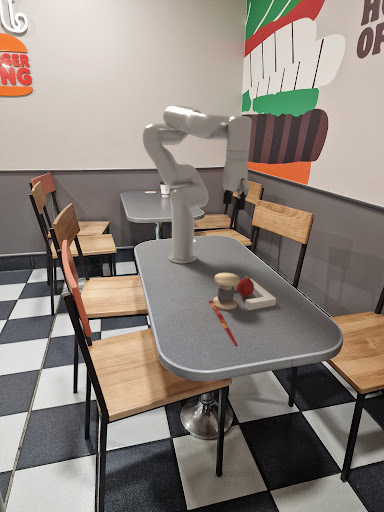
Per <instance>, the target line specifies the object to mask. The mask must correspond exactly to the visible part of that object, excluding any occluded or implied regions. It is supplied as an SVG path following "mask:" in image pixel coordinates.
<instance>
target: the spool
mask: <svg viewBox="0 0 384 512" xmlns="http://www.w3.org/2000/svg"><path fill="white" fill-rule="evenodd" d="M213 280H214V282H215V283H216V284H217V285H218V287H217V296H215V297H214V298H213V299H212V300H213V304H214V305H215V306H216V307H218V308H219V310H222V311H231V310H235V309H236V308H237V307H238V300H237V299H236V298H235V296H234V295H235V291H234V287H233V286H235V285H237V284H239V281H240V280H241V279H240V276H238V274H235V273H233V272H232V273H231V272H219V273H217V274H215V275H214V278H213Z"/></svg>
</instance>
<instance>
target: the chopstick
mask: <svg viewBox="0 0 384 512" xmlns="http://www.w3.org/2000/svg"><path fill="white" fill-rule="evenodd" d="M208 304H209V305H210V307H211V308H212V310H213V312H214V313H215V315H216V317H217V318H218V320H219V322H220V324H221V325H222V326H223V328H224V330H225V331H226V333H227V335H228V337H229V338H230V340H231V342H232V343H233V345H234V346H235V347H238V343H237V341H236V339H235V338H234V337H235V336H234V334H233V333H232V331H231V330H230V328H229V326H228V323H227V322H226V320H225V319H224V316H223V314H222V312H221V311H220V310H221V309H219V308H218V307H216V306H215V305H214V304H213V299H212V300H208Z"/></svg>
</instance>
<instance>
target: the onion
mask: <svg viewBox="0 0 384 512" xmlns="http://www.w3.org/2000/svg"><path fill="white" fill-rule="evenodd" d="M250 279H251V278H249V276H244V278H241V279H240V281H239V284H237V290H236V292H237V293H238V294H239V295H241V296H242V298H247V297H249V296H251V295H252V293H253V291H254V285H253V282H252V281H251V280H250Z"/></svg>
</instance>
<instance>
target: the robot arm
mask: <svg viewBox="0 0 384 512" xmlns="http://www.w3.org/2000/svg"><path fill="white" fill-rule="evenodd" d="M162 114H163V115H162V118H163V121H164V123H152V124H148V125H147V126H146V127H144V129H143V133H142V143H143V147H144V149H145V151H146V153H147V155H148V156H149V158H150V160H152V162H153V163H154V165H155V167H156V170H157V172H158V174H159V175H160V178H161V179H162V181H163V183H164V185H165V186H166V187H167V188H169V189H172V191H171V192H170V194H169V204H170V211H171V253H169V254H168V257H167V258H168V260H169V261H170V262H172V263H175V264H186V265H187V264H191V263H193V262H195V261H196V260H197V259H198V257H197V254H195V253H194V244H195V242H194V241H195V218H194V215H193V213H192V211H191V210H192V209H197V208H204V206H206V205H207V204H208V202H209V198H210V197H209V191H208V189H207V187H206V185H205V183H204V181H203V179H202V177H201V175H200V174H199V172H198V170H197V168H195V167H194V166H193V165H192V164H189V163H188V164H186V163H184V164H183V163H181V164H179V163H178V162H177V161H176V159H175V156H174V155H173V154H172V152H171V151H170V150H168V149H167V148H166V147H165V146H177V145H179V144H181V143H182V142H183V141H185V139H186V138H188V136H189V135H191V136H193V137H196V138H197V137H198V138H201V139H205V140H226V151H225V153H226V155H225V162H224V168H223V173H222V185H221V186H222V188H223V190H222V192H223V198H222V204H223V205H231V204H232V202H233V193H235V192H236V196H237V198H235V199H236V202H235V210H236V211H245V208H246V200H247V197H248V193H249V190H250V186H249V184H248V180H249V179H248V177H249V176H248V175H249V165H248V162H249V155H250V148H251V147H250V146H251V144H250V143H251V134H252V133H251V132H252V122H253V121H252V118H251V117H250V116H246V115H244V116H243V115H232V116H229V115H217V114H207V113H202V112H201V111H200V110H199V109H197V108H193V107H192V106H186V105H176V104H175V105H170V106H168V107H166V109H165V110H164V111H163V113H162Z"/></svg>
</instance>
